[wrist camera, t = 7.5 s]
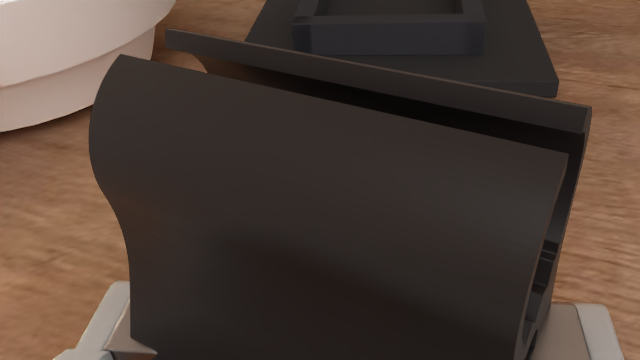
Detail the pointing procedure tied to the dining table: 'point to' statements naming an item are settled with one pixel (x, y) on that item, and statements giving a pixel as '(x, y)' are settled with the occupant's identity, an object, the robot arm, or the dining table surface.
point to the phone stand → (331, 206)
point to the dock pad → (418, 38)
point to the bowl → (66, 52)
